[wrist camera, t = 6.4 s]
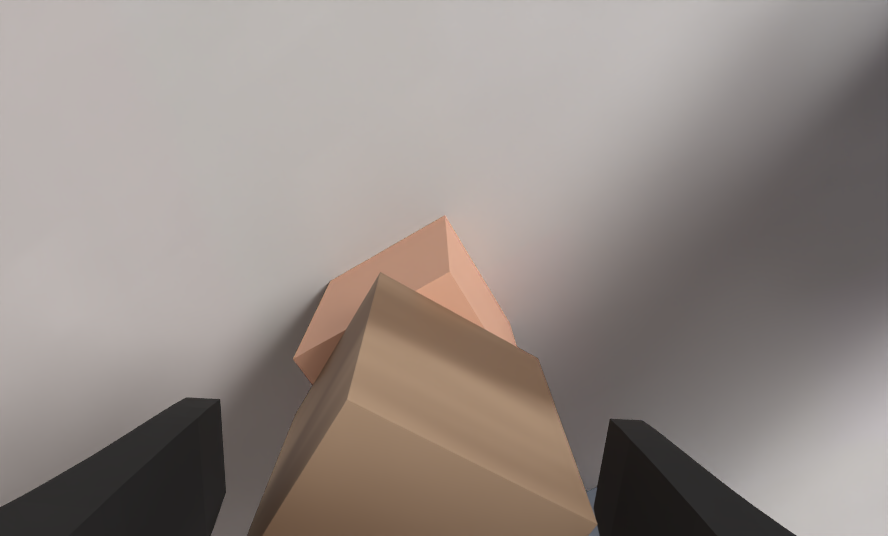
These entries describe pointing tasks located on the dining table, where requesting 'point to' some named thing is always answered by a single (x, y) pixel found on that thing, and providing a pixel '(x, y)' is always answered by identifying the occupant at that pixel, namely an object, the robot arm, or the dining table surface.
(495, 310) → the terracotta brick
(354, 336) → the walnut brick
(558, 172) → the dining table surface
